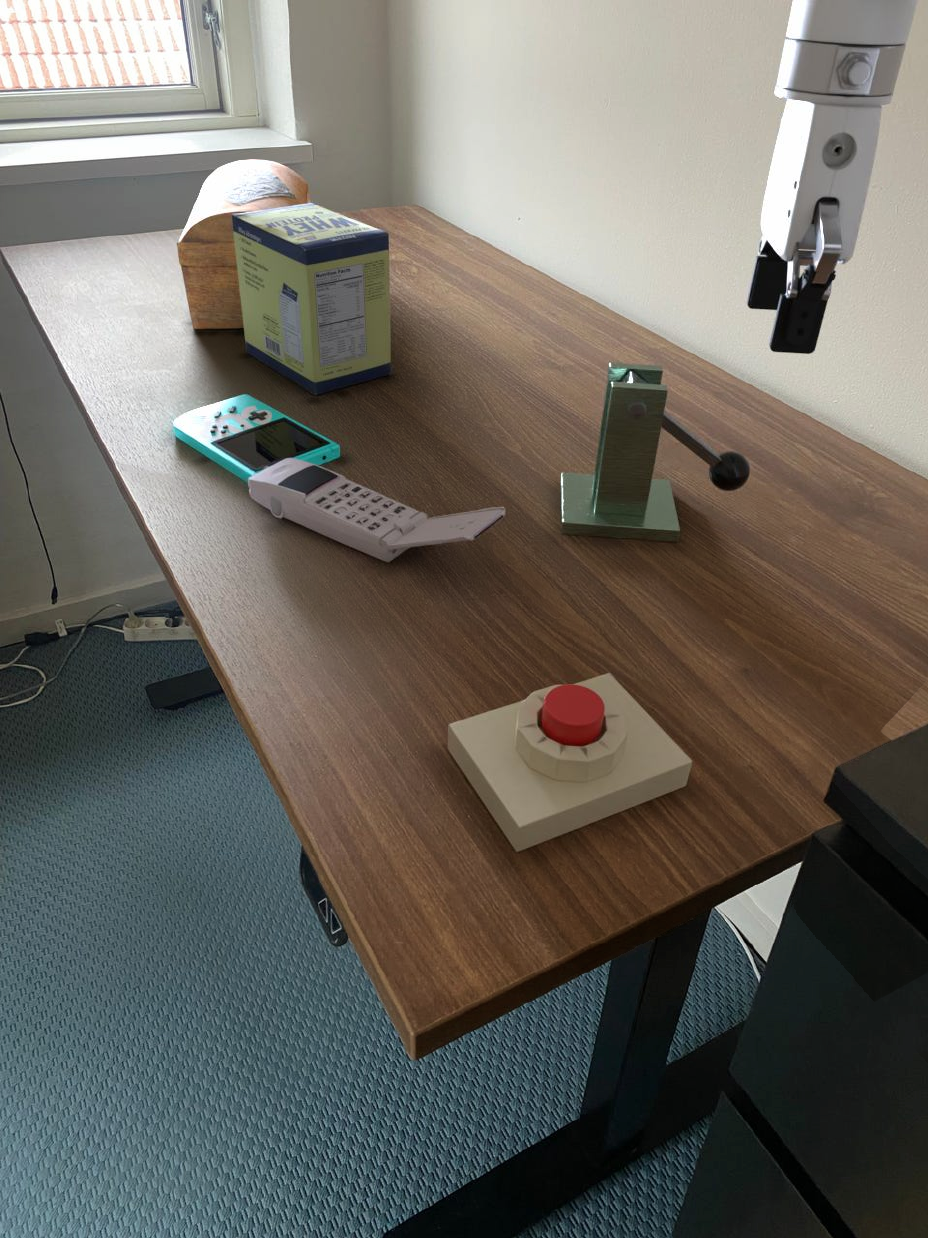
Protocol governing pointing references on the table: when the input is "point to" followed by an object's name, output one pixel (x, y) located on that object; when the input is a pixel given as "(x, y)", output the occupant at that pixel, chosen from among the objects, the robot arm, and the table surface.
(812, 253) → the robot arm
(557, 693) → the button
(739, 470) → the lever
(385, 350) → the protein box
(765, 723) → the table surface
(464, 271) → the table surface
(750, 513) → the table surface
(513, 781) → the button block
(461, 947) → the table surface
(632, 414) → the bracket
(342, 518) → the mobile phone
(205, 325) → the wooden box
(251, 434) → the handheld game console
